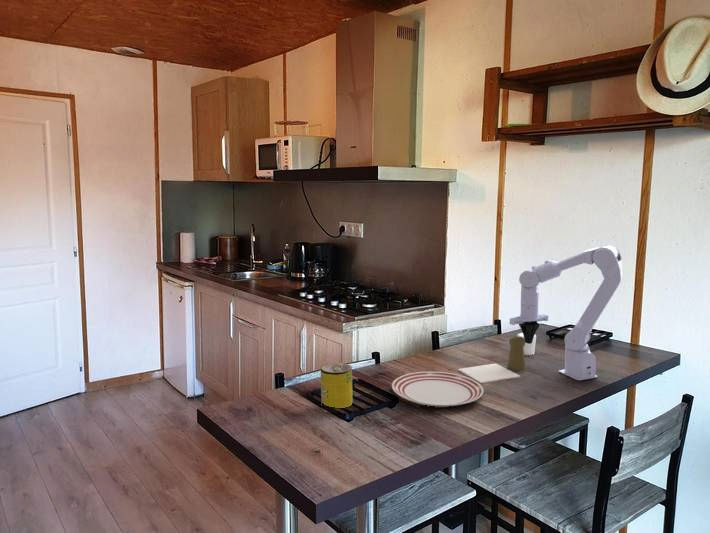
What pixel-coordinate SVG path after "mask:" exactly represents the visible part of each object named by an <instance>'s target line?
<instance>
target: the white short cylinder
mask: <svg viewBox="0 0 710 533" xmlns="http://www.w3.org/2000/svg"><path fill="white" fill-rule="evenodd" d="M516 337H522V338H524V335H523V332H519V333H517V336H516ZM524 340H525V339H524ZM536 340H537V335H536V334H535V335H534V338H533V341H532V343H531V344H528V343H525V346H524V347H523V349H524V356H532V354H533V355H535V350H536V343H537V341H536Z"/></svg>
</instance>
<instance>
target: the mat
mask: <svg viewBox="0 0 710 533" xmlns="http://www.w3.org/2000/svg"><path fill="white" fill-rule="evenodd" d="M457 371H459V372H460V373H462V374H463V375H465V376H466V377H468V378H470V379H473V380H474V381H476V382H478V383H479V384H480V385H481V384H488V383H493V382H500V381H505V380H512V379H517V378H521V375H519V374H518V373H515V371H514V372H513V370H510V369H508V368H506V367H504V366H502V365H500V364H498V363H489V364H483V365H475V366H469V367H462V368H458V370H457Z"/></svg>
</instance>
